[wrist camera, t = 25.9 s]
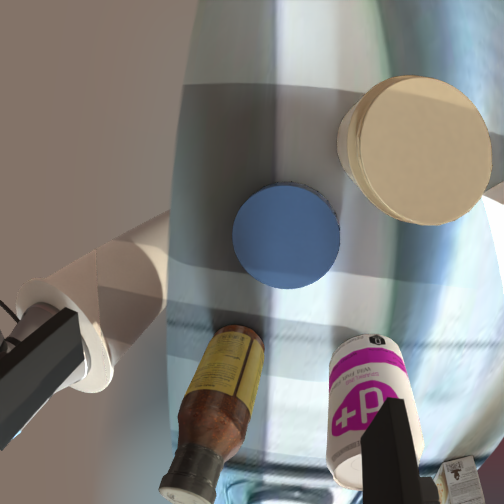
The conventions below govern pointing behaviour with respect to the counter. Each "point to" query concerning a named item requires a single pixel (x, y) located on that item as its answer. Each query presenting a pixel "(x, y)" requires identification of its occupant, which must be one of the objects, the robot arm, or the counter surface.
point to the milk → (496, 220)
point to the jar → (416, 150)
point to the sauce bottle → (214, 414)
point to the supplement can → (363, 401)
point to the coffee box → (459, 482)
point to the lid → (286, 235)
